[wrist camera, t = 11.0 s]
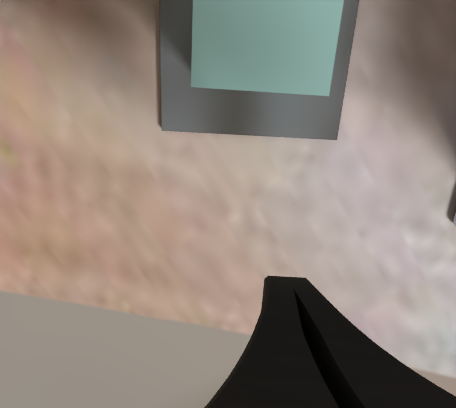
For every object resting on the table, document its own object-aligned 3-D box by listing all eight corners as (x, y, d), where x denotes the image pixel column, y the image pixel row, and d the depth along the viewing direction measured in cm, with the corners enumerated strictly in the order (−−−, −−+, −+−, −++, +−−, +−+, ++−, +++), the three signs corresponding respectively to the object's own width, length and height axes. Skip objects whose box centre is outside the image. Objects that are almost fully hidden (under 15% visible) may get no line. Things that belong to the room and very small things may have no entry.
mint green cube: (313, -19, 16) (355, -73, 11) (299, 92, 18) (328, 96, 13) (208, -26, 16) (194, -84, 11) (204, 86, 18) (190, 87, 13)
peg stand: (367, -71, 16) (429, -143, 11) (334, 138, 19) (370, 157, 14) (159, -82, 16) (125, -159, 11) (163, 129, 19) (137, 145, 14)
